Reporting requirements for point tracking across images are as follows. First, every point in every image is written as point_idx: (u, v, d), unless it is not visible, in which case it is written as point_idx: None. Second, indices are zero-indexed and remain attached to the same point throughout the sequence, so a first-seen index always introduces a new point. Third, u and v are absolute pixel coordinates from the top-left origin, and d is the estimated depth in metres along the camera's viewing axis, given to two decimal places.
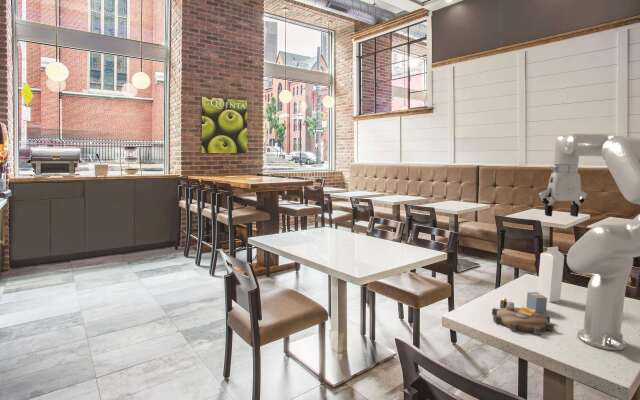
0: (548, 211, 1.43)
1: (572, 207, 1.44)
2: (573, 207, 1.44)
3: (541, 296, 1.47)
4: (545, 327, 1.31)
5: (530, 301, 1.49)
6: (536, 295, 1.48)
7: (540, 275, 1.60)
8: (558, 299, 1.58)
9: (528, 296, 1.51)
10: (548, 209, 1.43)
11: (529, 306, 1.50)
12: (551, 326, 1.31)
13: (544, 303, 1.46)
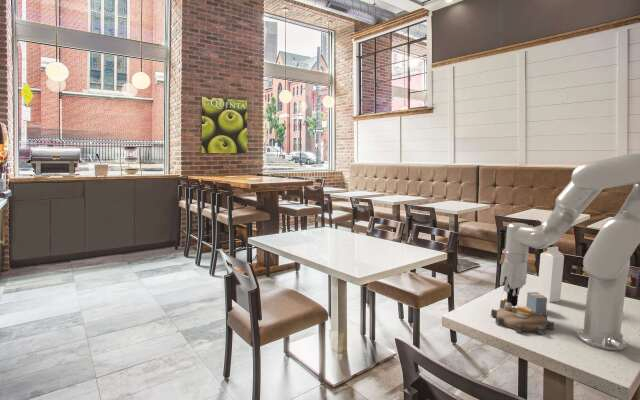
0: None
1: None
2: None
3: (541, 296, 1.47)
4: (547, 326, 1.32)
5: (530, 301, 1.49)
6: (536, 295, 1.48)
7: (540, 275, 1.60)
8: (558, 299, 1.58)
9: (528, 296, 1.51)
10: None
11: (529, 306, 1.50)
12: (552, 325, 1.32)
13: (544, 303, 1.46)
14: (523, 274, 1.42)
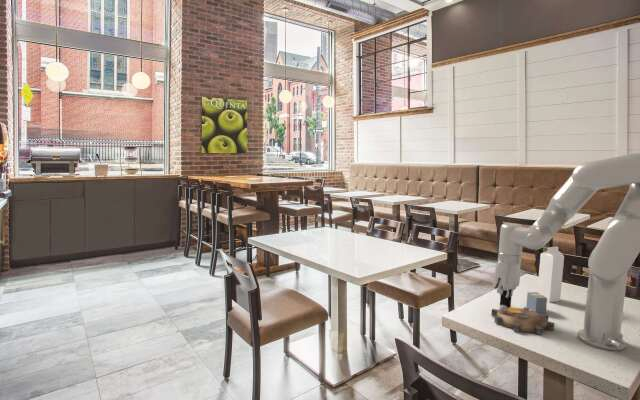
0: None
1: None
2: None
3: (541, 296, 1.47)
4: None
5: (530, 301, 1.49)
6: (536, 295, 1.48)
7: (540, 275, 1.60)
8: (558, 299, 1.58)
9: (528, 296, 1.51)
10: None
11: (529, 306, 1.50)
12: (547, 317, 1.38)
13: (544, 303, 1.46)
14: (517, 275, 1.39)
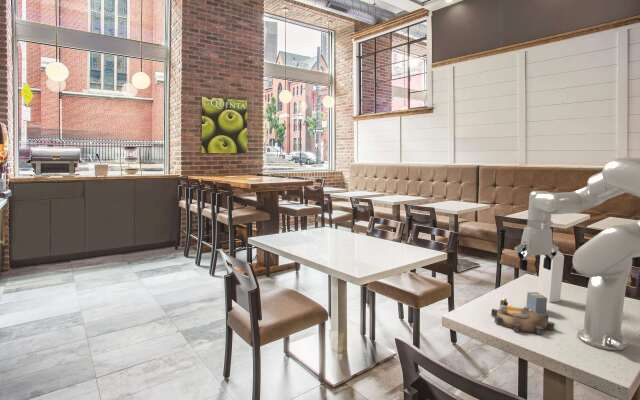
0: None
1: None
2: None
3: (541, 296, 1.47)
4: None
5: (530, 301, 1.49)
6: (536, 295, 1.48)
7: (540, 275, 1.60)
8: (558, 299, 1.58)
9: (528, 296, 1.51)
10: None
11: (529, 306, 1.50)
12: (547, 317, 1.38)
13: (544, 303, 1.46)
14: (545, 242, 1.43)
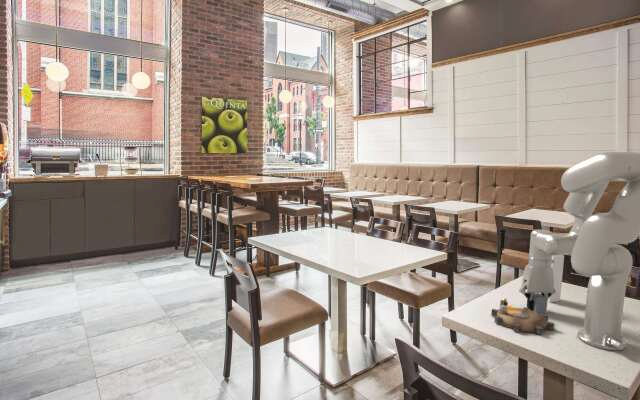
0: None
1: None
2: None
3: (541, 296, 1.47)
4: None
5: None
6: (537, 295, 1.48)
7: None
8: (558, 299, 1.58)
9: None
10: None
11: None
12: (547, 317, 1.38)
13: (544, 303, 1.45)
14: (546, 280, 1.45)
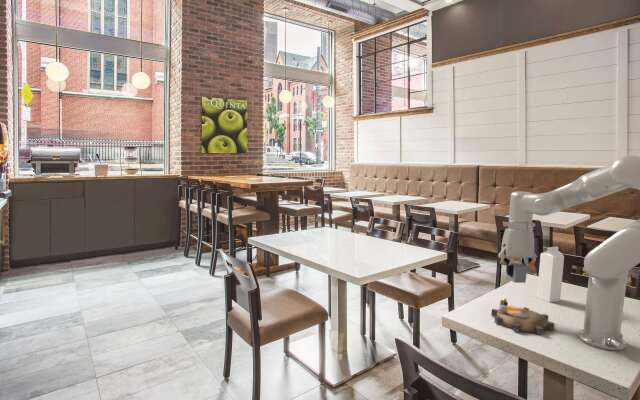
0: None
1: None
2: None
3: (521, 265, 1.40)
4: None
5: None
6: (516, 264, 1.41)
7: (540, 275, 1.60)
8: (558, 299, 1.58)
9: None
10: None
11: None
12: (547, 317, 1.38)
13: (523, 272, 1.39)
14: (526, 244, 1.38)
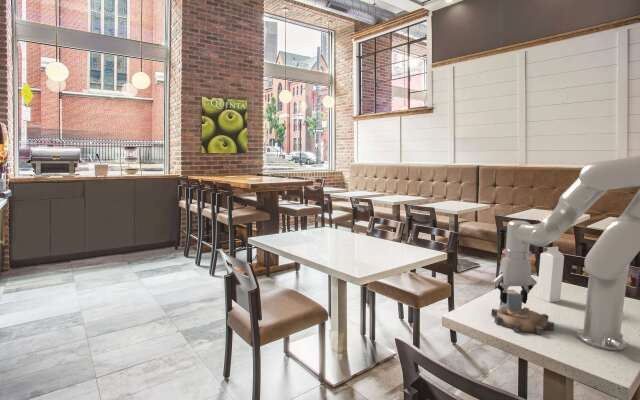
0: None
1: None
2: None
3: (517, 294, 1.42)
4: None
5: None
6: (512, 293, 1.43)
7: (540, 275, 1.60)
8: (558, 299, 1.58)
9: None
10: None
11: (505, 304, 1.45)
12: (547, 317, 1.38)
13: (519, 301, 1.41)
14: (523, 273, 1.39)
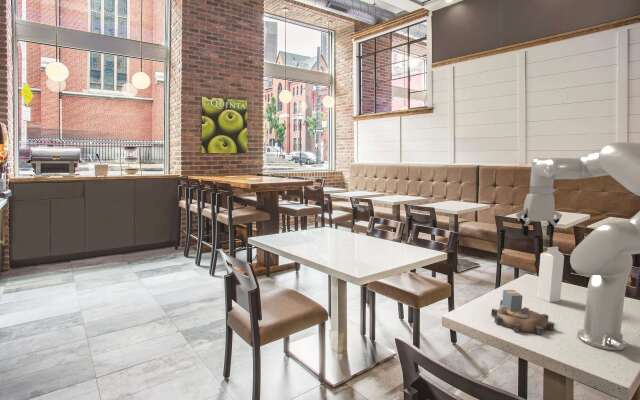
0: None
1: None
2: None
3: (517, 294, 1.42)
4: None
5: (506, 299, 1.44)
6: (512, 293, 1.43)
7: (540, 275, 1.60)
8: (558, 299, 1.58)
9: (504, 294, 1.46)
10: None
11: (505, 304, 1.45)
12: (547, 317, 1.38)
13: (519, 301, 1.41)
14: (547, 208, 1.45)
